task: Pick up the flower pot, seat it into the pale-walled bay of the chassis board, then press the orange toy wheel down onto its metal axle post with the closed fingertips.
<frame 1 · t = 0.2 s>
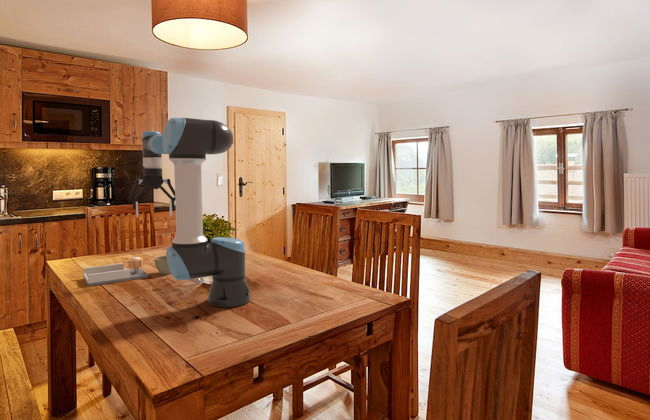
hand: (154, 216, 178), 27 cm above the table, fingers open, 13 cm apart
wheel: (136, 262, 181), point 6 cm above the table, slide at 0.0 cm
chassis: (116, 278, 177), on the table
flower pot: (166, 273, 186), on the table
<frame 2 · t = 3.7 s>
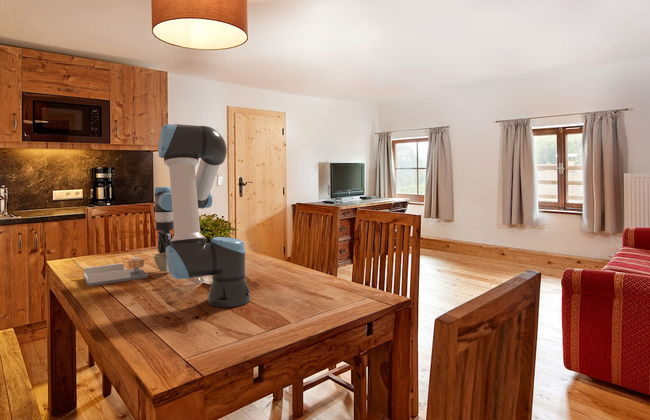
hand: (166, 269, 185), 2 cm above the table, fingers closed on flower pot, 10 cm apart
flower pot: (166, 270, 185), point 1 cm above the table, touching gripper
everything else where it was.
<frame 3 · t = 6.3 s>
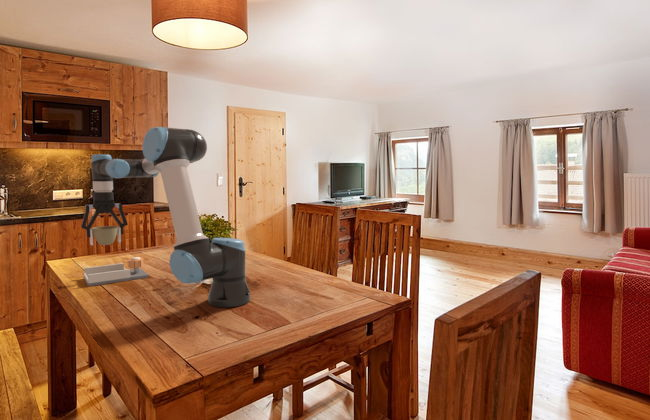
hand: (105, 243, 173), 16 cm above the table, fingers closed on flower pot, 10 cm apart
flower pot: (105, 244, 173), point 15 cm above the table, touching gripper
everything else where it was.
when the fingers open (3 cm above the table, at t = 9.1 s): flower pot drops 2 cm, resting on chassis.
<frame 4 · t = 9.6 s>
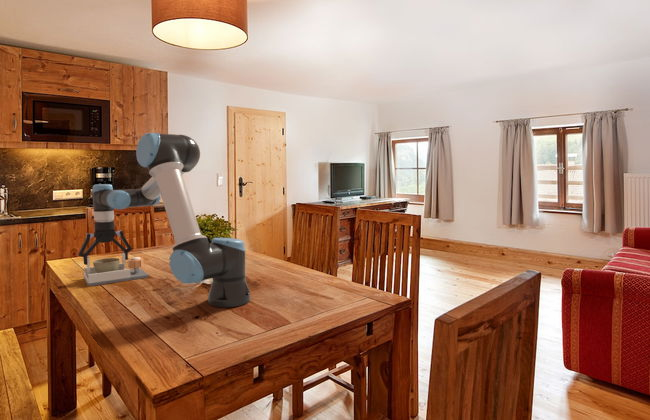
hand: (106, 269, 174), 4 cm above the table, fingers open, 13 cm apart
flower pot: (107, 277, 175), point 1 cm above the table, touching chassis
everything else where it was.
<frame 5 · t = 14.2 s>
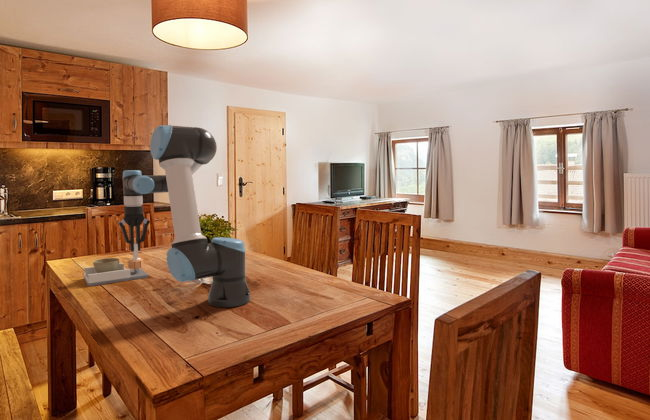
hand: (135, 257, 181), 8 cm above the table, fingers closed
wheel: (136, 262, 181), point 6 cm above the table, slide at 0.3 cm, touching gripper
everything else where it was.
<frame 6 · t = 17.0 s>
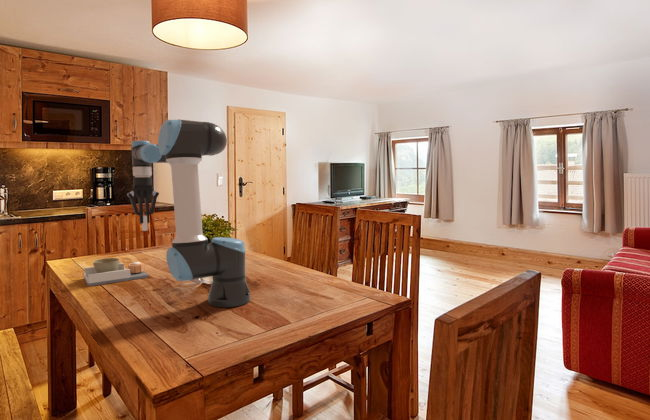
hand: (145, 230, 179), 20 cm above the table, fingers closed
wheel: (136, 266, 181), point 4 cm above the table, slide at 2.2 cm
everything else where it was.
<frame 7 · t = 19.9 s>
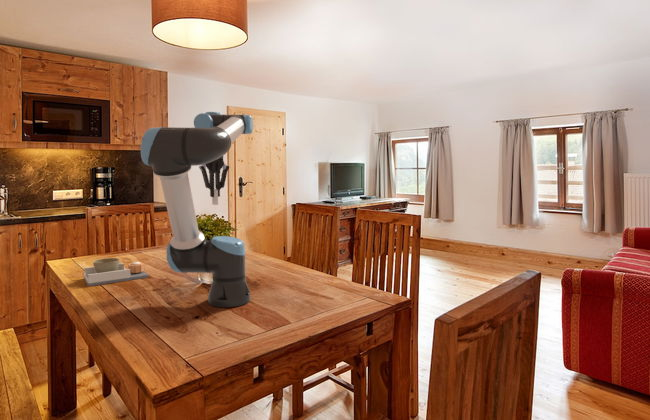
hand: (215, 204, 176), 32 cm above the table, fingers closed
nothing on the table moved.
at the end: flower pot inside the target area on the chassis (0.0 cm from its centre), point 1.0 cm above the chassis's base; flower pot tilted 0°; wheel slide at 2.2 cm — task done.
